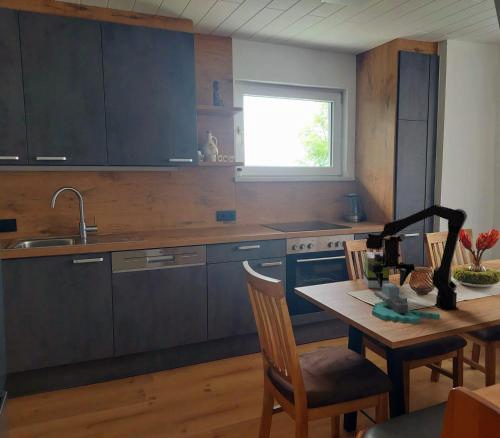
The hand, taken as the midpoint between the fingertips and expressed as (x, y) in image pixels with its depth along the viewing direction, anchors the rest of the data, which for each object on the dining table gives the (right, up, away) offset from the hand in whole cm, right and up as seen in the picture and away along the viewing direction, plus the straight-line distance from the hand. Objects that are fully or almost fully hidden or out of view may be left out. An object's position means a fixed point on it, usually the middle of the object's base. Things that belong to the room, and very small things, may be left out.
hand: (390, 286), depth 169 cm
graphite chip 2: (-4, -6, -20) cm, 21 cm away
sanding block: (0, -6, +1) cm, 6 cm away
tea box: (+1, -3, +24) cm, 24 cm away
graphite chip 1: (-4, -5, -16) cm, 17 cm away
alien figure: (-3, -8, -18) cm, 20 cm away
